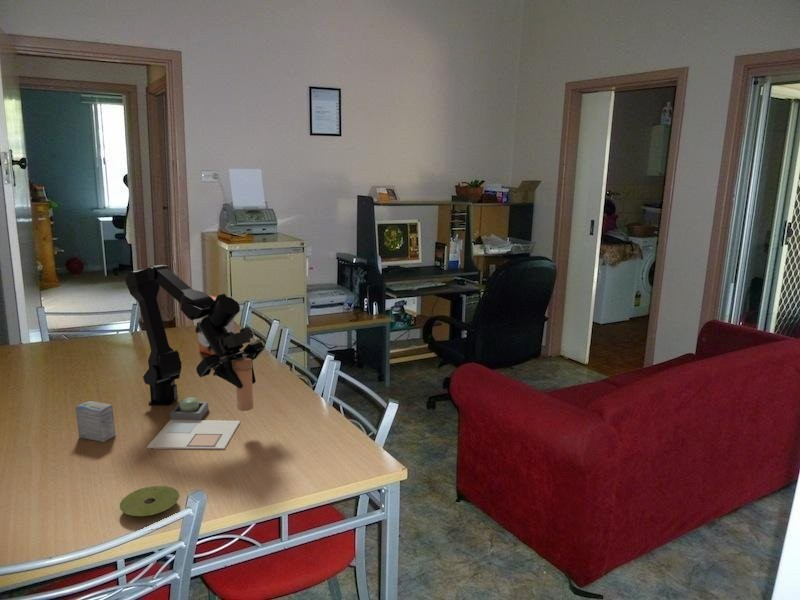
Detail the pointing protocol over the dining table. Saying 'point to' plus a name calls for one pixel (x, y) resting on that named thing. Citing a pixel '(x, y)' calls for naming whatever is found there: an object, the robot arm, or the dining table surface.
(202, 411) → the button housing
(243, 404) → the brown tall rounded cylinder
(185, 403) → the button
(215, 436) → the colouring sheet
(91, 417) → the medicine box
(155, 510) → the green disc
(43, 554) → the dining table surface
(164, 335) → the robot arm
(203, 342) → the cracker box
